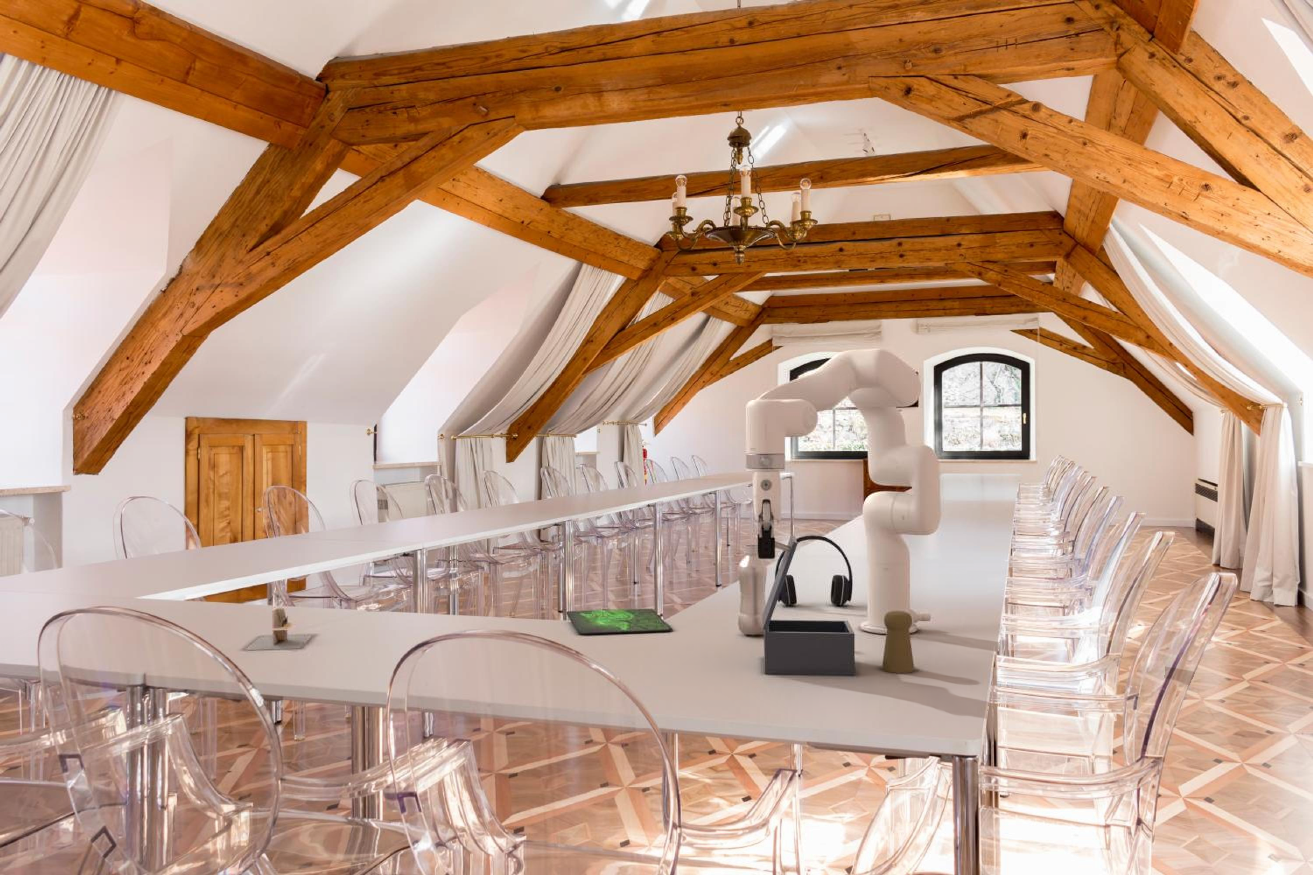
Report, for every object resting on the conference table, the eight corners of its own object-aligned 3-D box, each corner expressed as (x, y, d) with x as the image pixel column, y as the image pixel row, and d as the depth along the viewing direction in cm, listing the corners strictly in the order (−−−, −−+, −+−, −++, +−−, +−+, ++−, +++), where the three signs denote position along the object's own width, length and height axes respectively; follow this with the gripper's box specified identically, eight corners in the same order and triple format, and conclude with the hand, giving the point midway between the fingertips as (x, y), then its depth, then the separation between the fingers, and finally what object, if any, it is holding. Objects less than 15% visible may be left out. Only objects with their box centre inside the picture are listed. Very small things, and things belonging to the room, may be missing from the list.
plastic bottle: (766, 638, 230) (766, 547, 230) (736, 637, 231) (735, 546, 231) (769, 632, 236) (769, 544, 236) (739, 631, 237) (739, 543, 237)
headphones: (776, 607, 270) (776, 537, 270) (773, 603, 277) (773, 534, 277) (854, 607, 270) (853, 536, 270) (849, 603, 277) (849, 534, 277)
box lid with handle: (794, 536, 208) (768, 526, 209) (797, 543, 195) (769, 533, 195) (765, 617, 209) (739, 608, 209) (766, 630, 195) (738, 620, 196)
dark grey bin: (848, 659, 207) (847, 620, 207) (854, 675, 194) (854, 633, 194) (764, 658, 209) (763, 619, 209) (764, 673, 195) (764, 632, 195)
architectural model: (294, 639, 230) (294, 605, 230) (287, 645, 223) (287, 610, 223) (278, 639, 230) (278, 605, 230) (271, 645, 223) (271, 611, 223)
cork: (877, 665, 202) (877, 609, 202) (908, 665, 202) (908, 608, 202) (887, 673, 196) (887, 614, 196) (918, 672, 196) (918, 613, 196)
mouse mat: (674, 631, 237) (674, 626, 237) (577, 635, 233) (577, 630, 233) (651, 611, 264) (651, 607, 264) (564, 614, 260) (564, 610, 260)
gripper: (786, 464, 193) (787, 562, 193) (783, 462, 210) (784, 551, 210) (746, 465, 194) (746, 562, 194) (746, 462, 211) (746, 551, 211)
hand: (766, 555), depth 202 cm, fingers closed on box lid with handle, 6 cm apart
